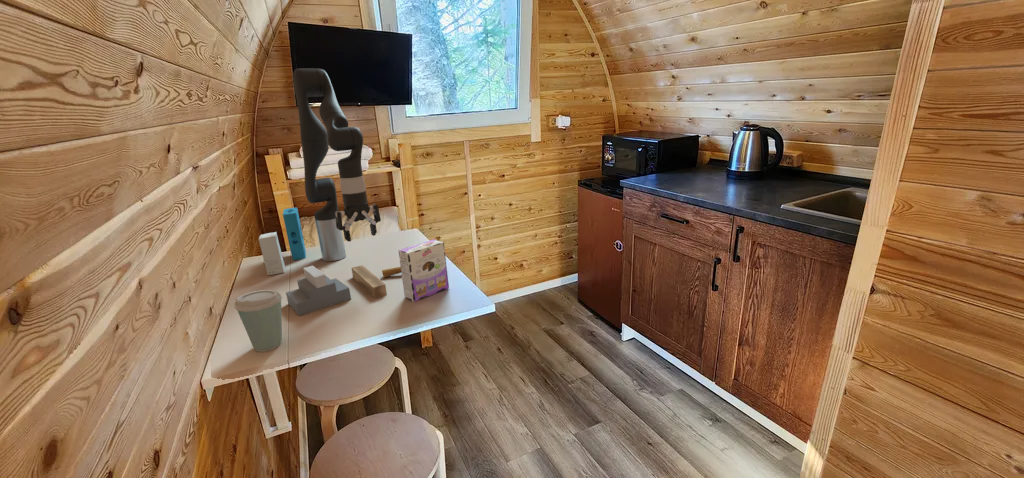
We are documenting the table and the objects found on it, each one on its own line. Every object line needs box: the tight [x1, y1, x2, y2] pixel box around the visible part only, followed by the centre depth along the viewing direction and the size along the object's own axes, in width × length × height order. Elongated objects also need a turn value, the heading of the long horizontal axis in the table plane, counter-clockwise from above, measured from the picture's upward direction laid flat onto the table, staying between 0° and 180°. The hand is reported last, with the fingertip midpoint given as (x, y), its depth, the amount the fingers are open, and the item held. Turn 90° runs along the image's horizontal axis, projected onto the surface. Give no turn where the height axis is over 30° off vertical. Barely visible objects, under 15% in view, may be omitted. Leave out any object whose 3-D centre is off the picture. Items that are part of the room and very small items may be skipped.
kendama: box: [381, 266, 402, 279], centre depth 161 cm, size 8×6×18 cm
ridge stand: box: [285, 265, 352, 317], centre depth 141 cm, size 12×16×10 cm
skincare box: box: [258, 231, 286, 276], centre depth 170 cm, size 8×6×15 cm
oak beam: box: [351, 265, 388, 299], centre depth 153 cm, size 4×24×4 cm, turn 36°
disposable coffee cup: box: [234, 289, 283, 353], centre depth 114 cm, size 11×11×15 cm
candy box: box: [398, 239, 450, 303], centre depth 142 cm, size 14×6×16 cm, turn 134°
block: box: [282, 207, 307, 261], centre depth 185 cm, size 12×5×20 cm, turn 23°
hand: (361, 238), depth 148 cm, fingers open, 8 cm apart
